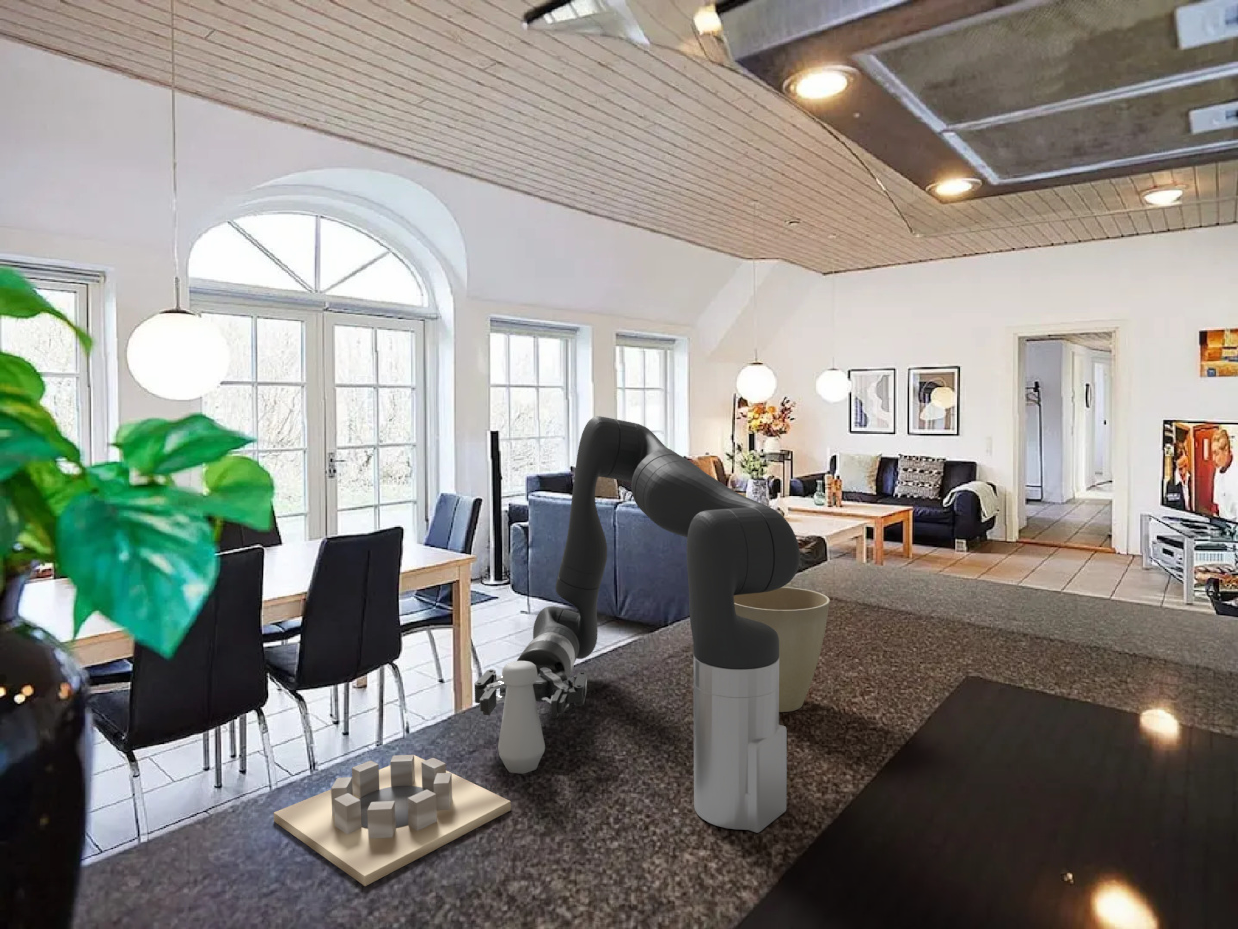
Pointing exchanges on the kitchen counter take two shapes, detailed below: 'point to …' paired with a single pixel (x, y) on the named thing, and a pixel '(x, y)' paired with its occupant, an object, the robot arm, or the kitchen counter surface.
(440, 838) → the stonehenge model
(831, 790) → the kitchen counter surface
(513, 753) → the salt shaker
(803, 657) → the plant pot
